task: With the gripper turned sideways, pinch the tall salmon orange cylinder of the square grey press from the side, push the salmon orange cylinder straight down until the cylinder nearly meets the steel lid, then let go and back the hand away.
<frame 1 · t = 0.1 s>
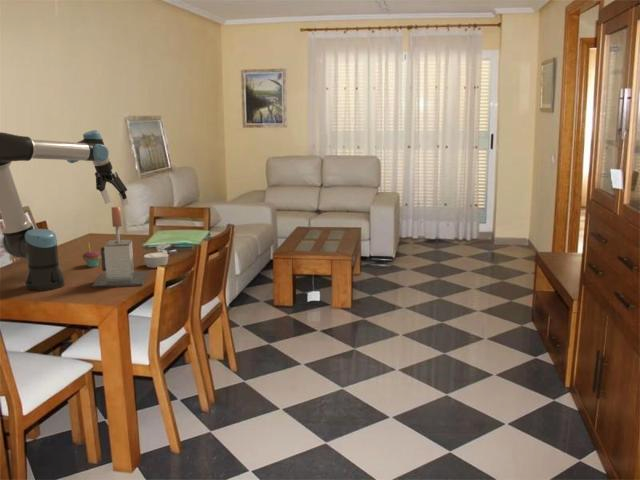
hand: (116, 203, 296), 28 cm above the table, tool tilted 20°, fingers open, 13 cm apart
cupcake: (92, 266, 289), on the table
ramekin: (156, 266, 290), on the table
salmon orange cylinder: (117, 235, 259), point 20 cm above the table, slide at 0.0 cm
press: (120, 280, 263), on the table
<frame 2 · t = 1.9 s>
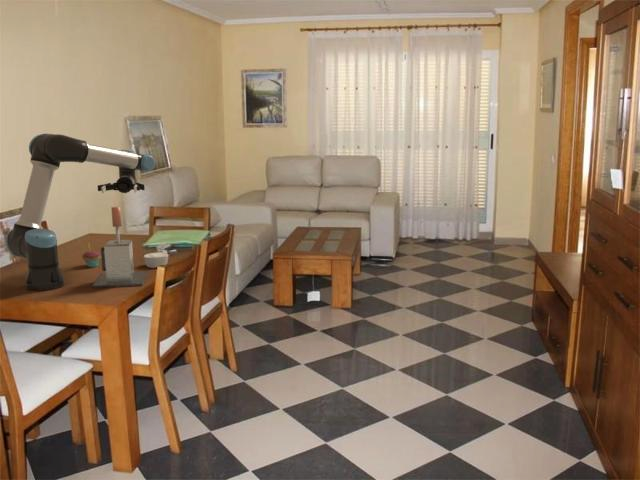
hand: (118, 189, 267), 38 cm above the table, tool horizontal, fingers open, 13 cm apart
nothing on the table moved.
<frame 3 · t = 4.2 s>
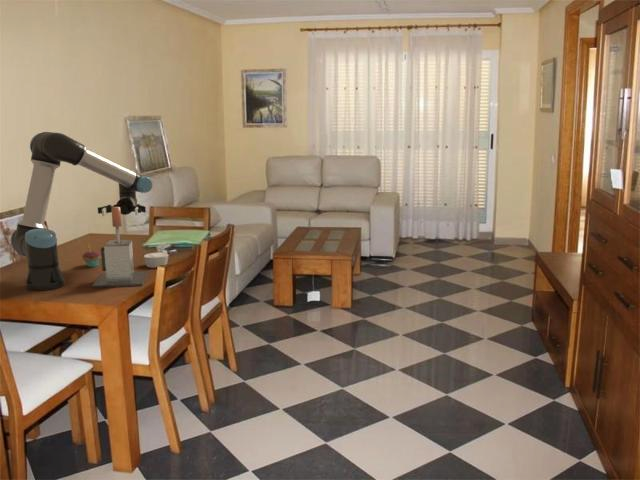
hand: (119, 212, 261), 29 cm above the table, tool horizontal, fingers open, 13 cm apart
nothing on the table moved.
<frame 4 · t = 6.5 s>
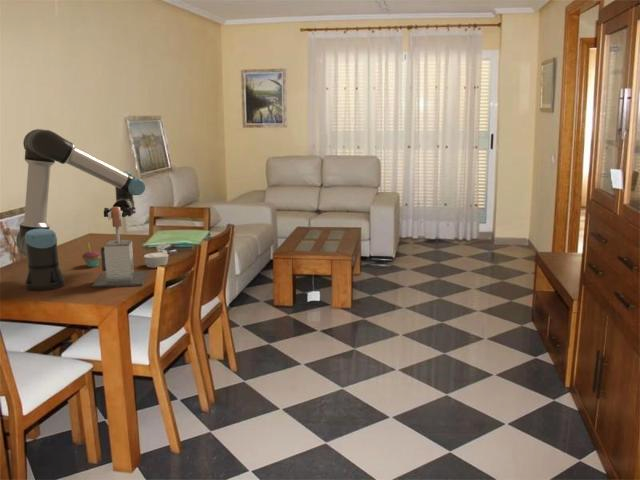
hand: (114, 216, 252), 29 cm above the table, tool horizontal, fingers closed on salmon orange cylinder, 4 cm apart
salmon orange cylinder: (117, 235, 259), point 20 cm above the table, slide at 0.0 cm, touching gripper
everything else where it was.
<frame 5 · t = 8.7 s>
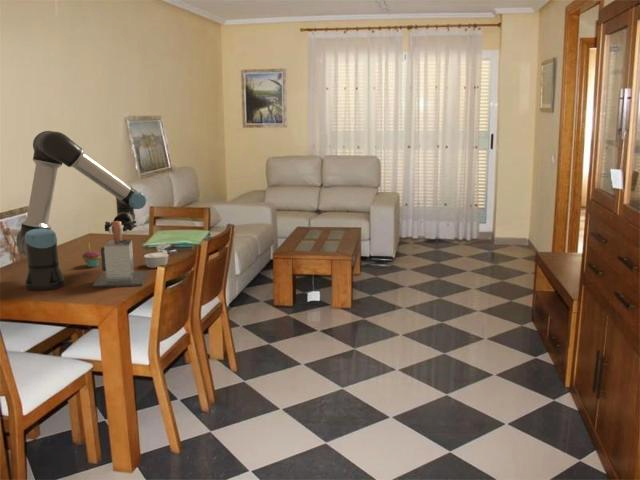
hand: (115, 231, 253), 23 cm above the table, tool horizontal, fingers closed on salmon orange cylinder, 4 cm apart
salmon orange cylinder: (118, 249, 260), point 14 cm above the table, slide at 6.2 cm, touching gripper
everything else where it was.
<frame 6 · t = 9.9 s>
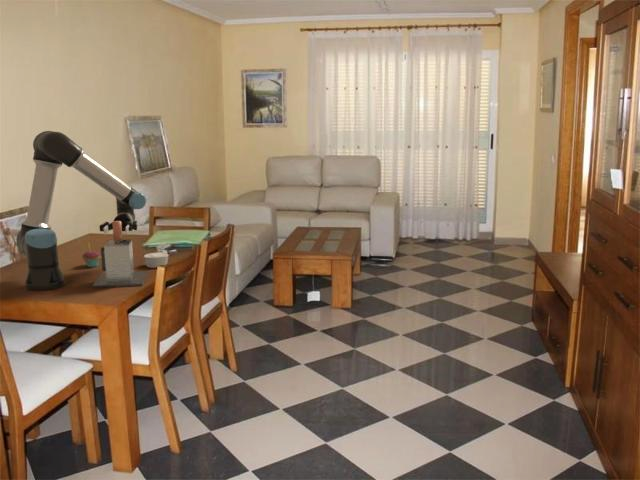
hand: (115, 231, 254), 23 cm above the table, tool horizontal, fingers open, 8 cm apart
salmon orange cylinder: (118, 249, 260), point 14 cm above the table, slide at 6.1 cm
everything else where it was.
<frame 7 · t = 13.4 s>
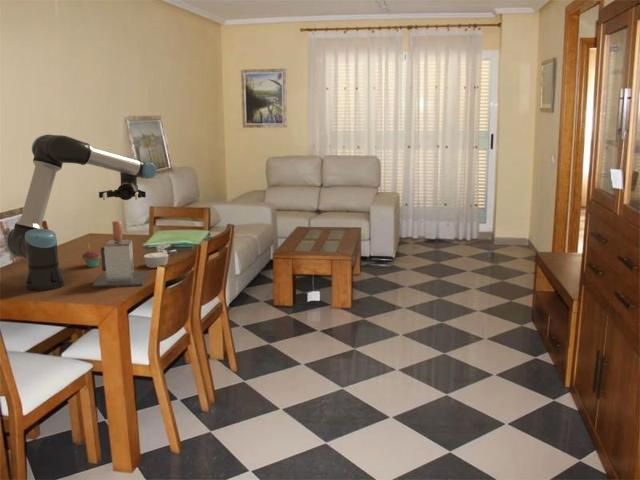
hand: (119, 196, 267), 35 cm above the table, tool horizontal, fingers open, 13 cm apart
nothing on the table moved.
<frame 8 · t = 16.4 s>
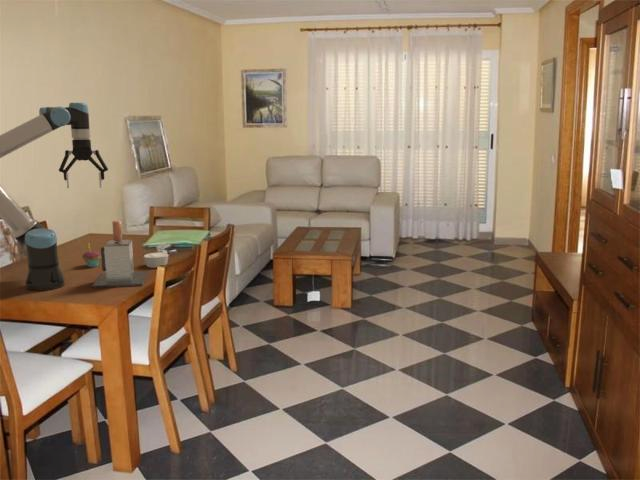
hand: (85, 187, 269), 39 cm above the table, tool pointing down, fingers open, 13 cm apart
nothing on the table moved.
at the end: salmon orange cylinder slide at 6.1 cm; the gripper is holding nothing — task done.
